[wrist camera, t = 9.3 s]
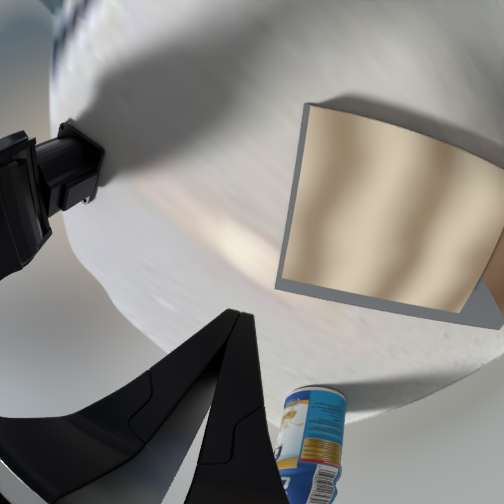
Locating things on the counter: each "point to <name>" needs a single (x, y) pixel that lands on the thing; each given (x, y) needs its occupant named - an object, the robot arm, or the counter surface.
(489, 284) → the walnut block
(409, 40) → the counter surface
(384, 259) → the birch board
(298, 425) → the beverage bottle
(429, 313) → the rubber mat
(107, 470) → the robot arm
